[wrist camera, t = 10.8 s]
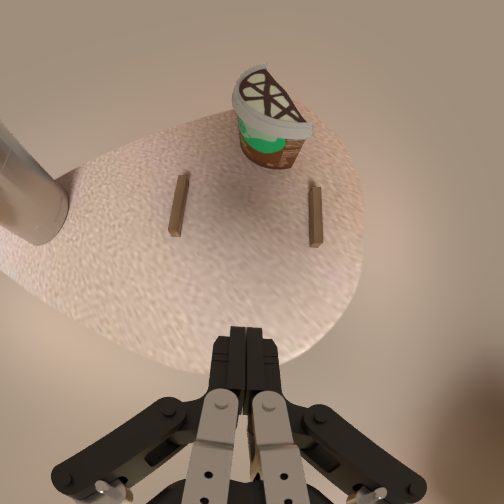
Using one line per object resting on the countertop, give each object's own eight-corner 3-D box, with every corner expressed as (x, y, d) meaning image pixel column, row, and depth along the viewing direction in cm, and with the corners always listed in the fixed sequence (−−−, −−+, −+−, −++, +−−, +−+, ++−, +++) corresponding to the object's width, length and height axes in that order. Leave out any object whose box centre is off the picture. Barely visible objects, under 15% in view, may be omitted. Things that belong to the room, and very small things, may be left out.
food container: (218, 122, 36) (217, 69, 27) (258, 112, 37) (264, 60, 28) (252, 190, 33) (259, 138, 24) (296, 176, 34) (316, 125, 25)
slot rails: (171, 236, 31) (168, 230, 29) (181, 183, 33) (178, 175, 31) (317, 247, 32) (323, 242, 30) (316, 194, 34) (320, 187, 32)
